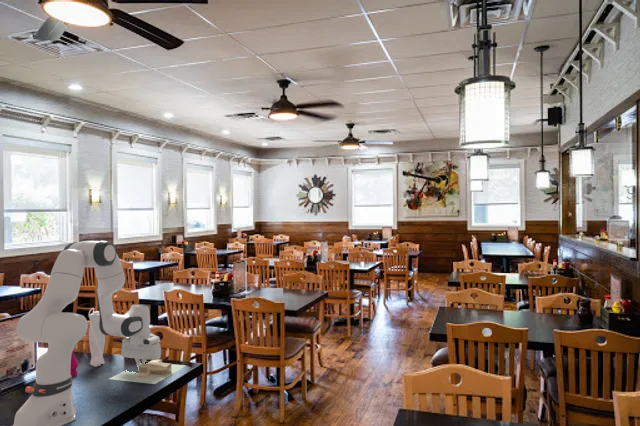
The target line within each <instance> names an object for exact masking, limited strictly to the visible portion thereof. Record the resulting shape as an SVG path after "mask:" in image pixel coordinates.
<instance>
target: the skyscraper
mask: <svg viewBox="0 0 640 426" xmlns="http://www.w3.org/2000/svg"><path fill="white" fill-rule="evenodd" d="M91 311H92V313H91ZM88 318H89V321H90V323H89V328H88V330H89V331H88V340H89V341H88V343H89V349H90V350H89V351H90V355H91V359H90V363H89V365H90V366H93V367H94V368H96V367H100V366H102V365H101V364H103V365H106V362H105V359H104V355H103V354H104V349H105V342H106V335H104V334H103V333H102V332H101V331H100V327H99V323H100V314H99V310H96V311H95V308H94V307H92V308H90V309H89V311H88Z"/></svg>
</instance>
